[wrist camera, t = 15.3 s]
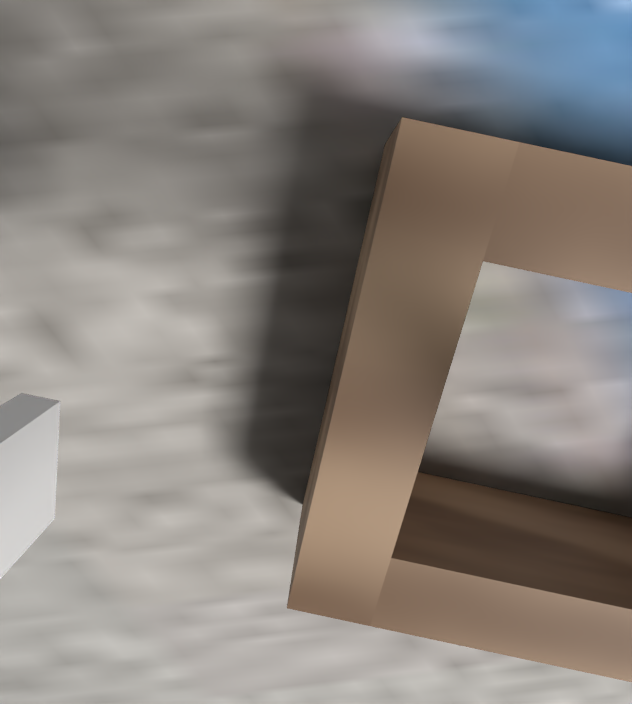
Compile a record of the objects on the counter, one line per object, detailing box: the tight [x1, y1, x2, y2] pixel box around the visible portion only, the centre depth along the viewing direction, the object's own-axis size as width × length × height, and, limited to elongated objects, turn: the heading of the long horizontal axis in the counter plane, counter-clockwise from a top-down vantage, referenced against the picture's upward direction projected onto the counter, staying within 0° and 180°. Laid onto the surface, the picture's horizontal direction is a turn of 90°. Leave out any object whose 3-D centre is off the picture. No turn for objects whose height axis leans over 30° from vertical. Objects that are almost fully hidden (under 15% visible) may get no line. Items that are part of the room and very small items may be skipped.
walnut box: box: [287, 117, 632, 682], centre depth 17 cm, size 16×20×6 cm
